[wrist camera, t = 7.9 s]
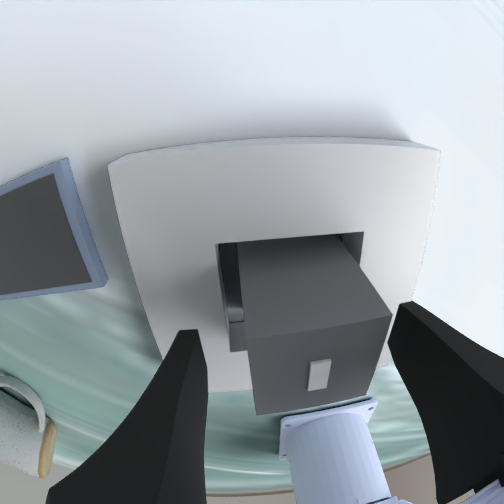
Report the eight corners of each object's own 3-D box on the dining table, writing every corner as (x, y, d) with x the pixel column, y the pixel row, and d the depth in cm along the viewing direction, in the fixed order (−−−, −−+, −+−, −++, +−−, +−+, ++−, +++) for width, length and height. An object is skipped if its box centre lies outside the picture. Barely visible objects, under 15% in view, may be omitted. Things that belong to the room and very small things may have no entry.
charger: (324, 297, 14) (366, 397, 9) (244, 308, 14) (256, 417, 9) (328, 224, 12) (394, 317, 7) (236, 234, 12) (246, 341, 7)
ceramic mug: (61, 436, 22) (47, 491, 15) (1, 404, 19) (-19, 455, 12) (59, 396, 18) (36, 471, 11) (-16, 353, 15) (-49, 417, 9)
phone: (111, 272, 13) (103, 288, 12) (-12, 292, 13) (-22, 303, 12) (73, 155, 10) (58, 161, 9) (-46, 212, 10) (-58, 220, 9)
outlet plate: (375, 342, 16) (387, 365, 15) (180, 366, 16) (177, 393, 14) (413, 141, 11) (440, 150, 9) (126, 154, 10) (107, 165, 8)
